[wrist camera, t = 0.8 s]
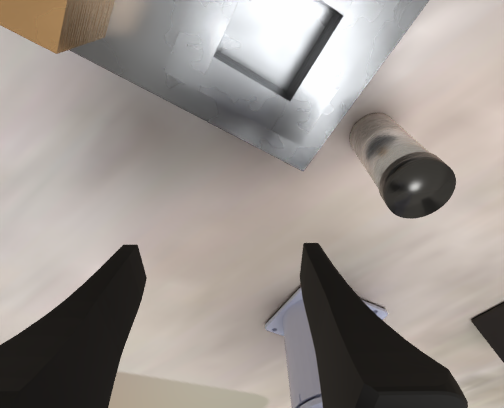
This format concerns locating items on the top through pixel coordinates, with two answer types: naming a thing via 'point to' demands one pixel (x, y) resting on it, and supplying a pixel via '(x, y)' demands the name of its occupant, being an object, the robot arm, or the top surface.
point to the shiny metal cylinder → (401, 167)
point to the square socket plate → (233, 57)
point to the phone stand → (492, 328)
